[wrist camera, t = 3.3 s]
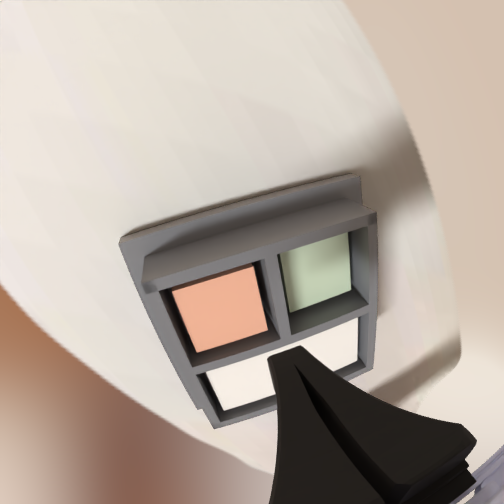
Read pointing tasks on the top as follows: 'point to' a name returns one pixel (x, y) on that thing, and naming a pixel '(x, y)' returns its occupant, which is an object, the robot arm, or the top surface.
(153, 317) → the grey compartment tray
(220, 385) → the space bar
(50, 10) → the top surface
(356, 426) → the robot arm
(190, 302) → the terracotta key
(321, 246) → the green key
